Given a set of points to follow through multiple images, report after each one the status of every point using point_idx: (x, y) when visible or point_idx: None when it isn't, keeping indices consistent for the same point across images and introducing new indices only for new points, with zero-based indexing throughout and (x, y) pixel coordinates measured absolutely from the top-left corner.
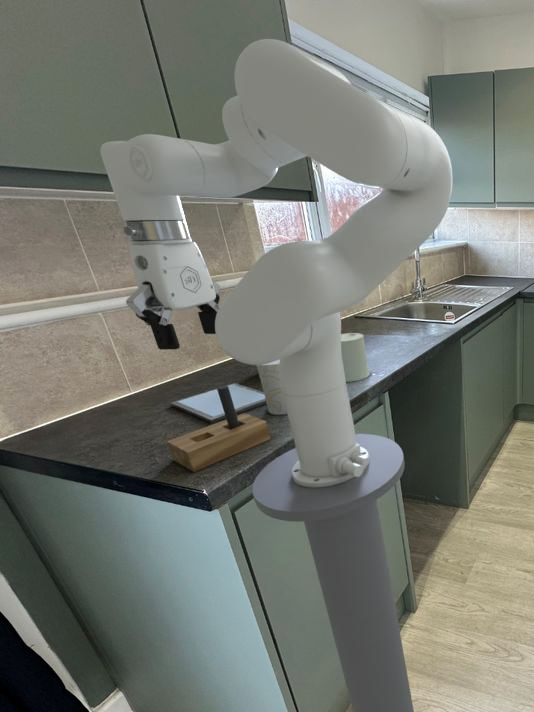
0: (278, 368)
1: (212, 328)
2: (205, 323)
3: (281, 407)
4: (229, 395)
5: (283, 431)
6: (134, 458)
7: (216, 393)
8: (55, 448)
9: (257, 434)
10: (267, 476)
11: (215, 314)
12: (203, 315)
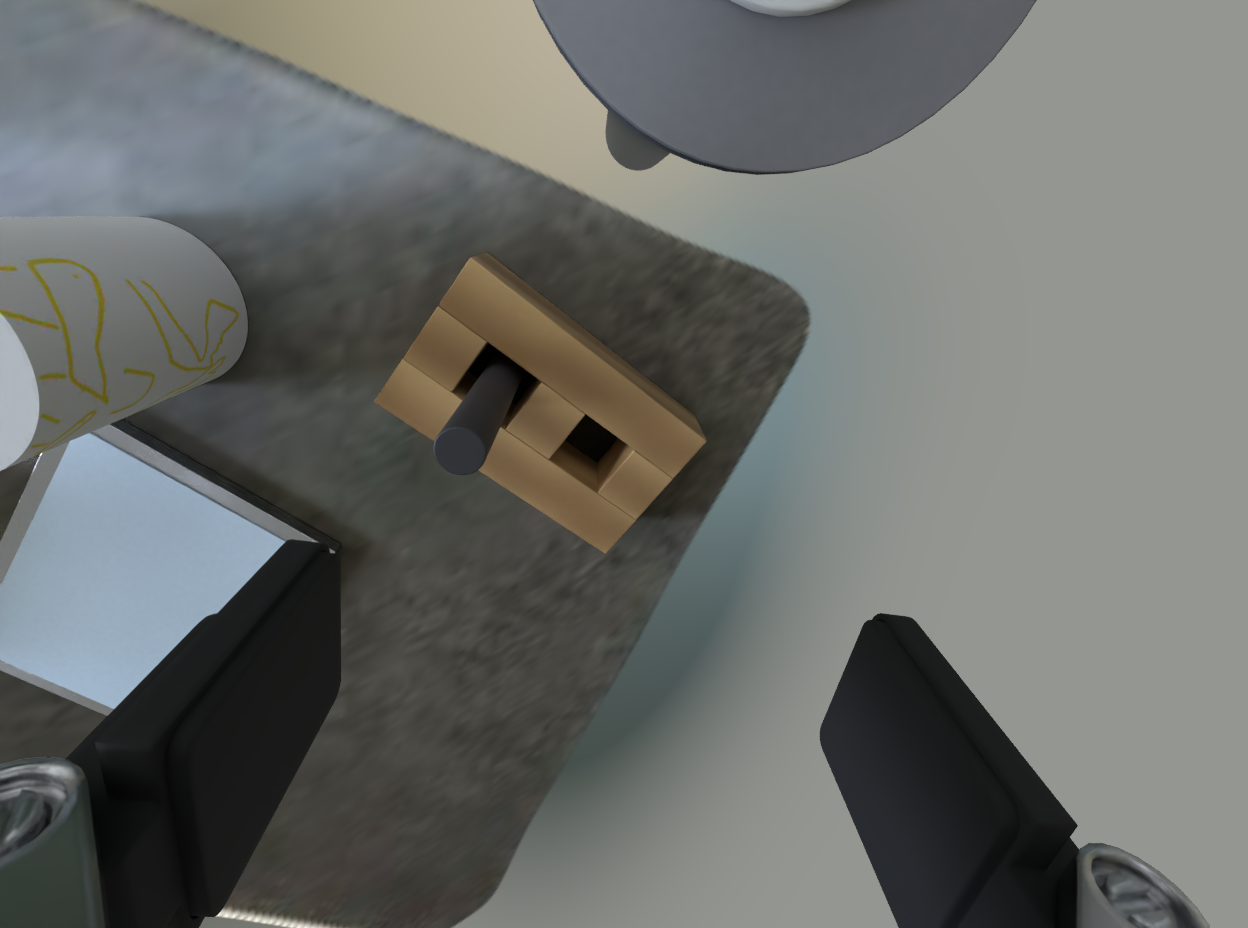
0: (26, 301)
1: (315, 642)
2: (289, 742)
3: (222, 302)
4: (470, 411)
5: (418, 223)
6: (574, 628)
7: (84, 657)
8: (490, 830)
9: (517, 285)
10: (805, 124)
11: (186, 713)
12: (228, 840)
